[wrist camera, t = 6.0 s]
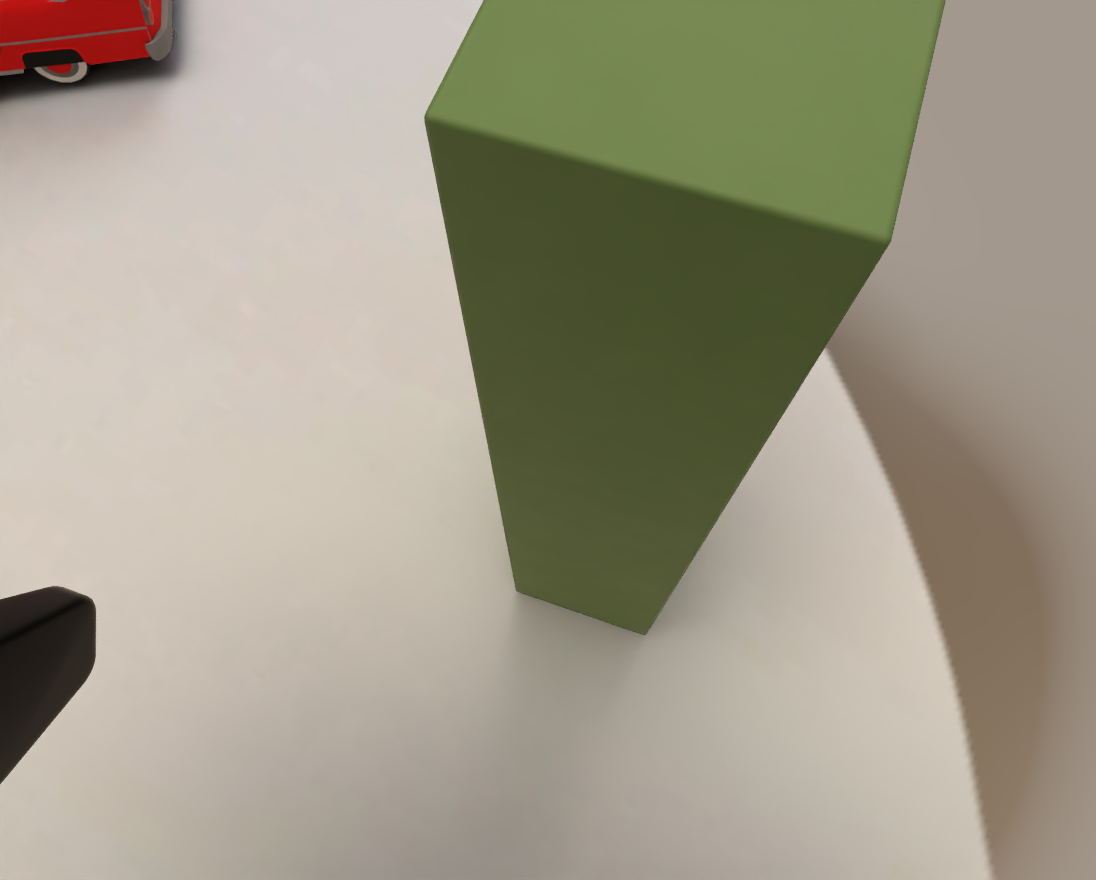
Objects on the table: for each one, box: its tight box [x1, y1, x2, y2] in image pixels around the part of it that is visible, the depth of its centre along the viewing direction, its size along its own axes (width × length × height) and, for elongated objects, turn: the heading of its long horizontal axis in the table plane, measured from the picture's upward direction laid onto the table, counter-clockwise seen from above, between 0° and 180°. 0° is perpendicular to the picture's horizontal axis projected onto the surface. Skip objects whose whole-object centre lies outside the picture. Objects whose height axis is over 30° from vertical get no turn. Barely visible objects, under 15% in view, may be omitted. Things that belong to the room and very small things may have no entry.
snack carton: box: [425, 0, 945, 635], centre depth 15 cm, size 5×4×17 cm
